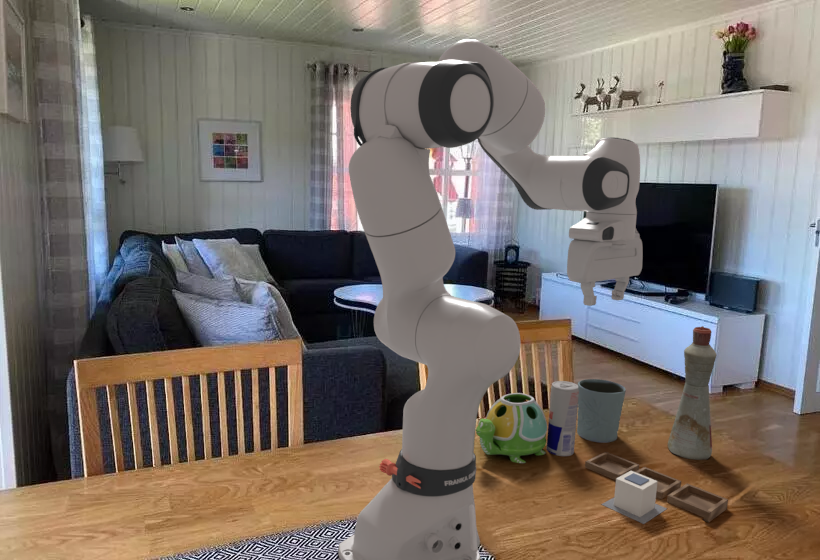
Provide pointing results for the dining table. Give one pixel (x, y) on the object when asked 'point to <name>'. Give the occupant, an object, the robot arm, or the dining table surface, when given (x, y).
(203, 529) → the dining table surface
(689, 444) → the bottle
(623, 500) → the white cube
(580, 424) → the blue-grey plant pot
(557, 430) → the beverage can
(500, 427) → the turtle holder
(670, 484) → the tray
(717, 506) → the tray
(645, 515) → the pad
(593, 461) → the tray
